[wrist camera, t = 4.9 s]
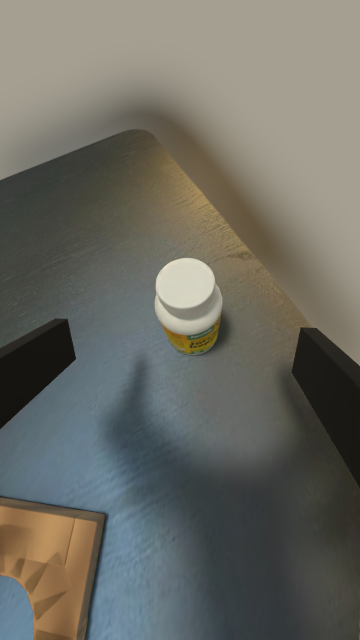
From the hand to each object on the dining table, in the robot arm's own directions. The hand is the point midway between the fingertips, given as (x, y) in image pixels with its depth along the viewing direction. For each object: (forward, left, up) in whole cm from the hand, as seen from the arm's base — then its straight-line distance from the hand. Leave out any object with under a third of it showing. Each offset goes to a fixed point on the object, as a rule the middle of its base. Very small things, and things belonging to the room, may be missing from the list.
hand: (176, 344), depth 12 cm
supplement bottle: (0, -4, -10) cm, 11 cm away
